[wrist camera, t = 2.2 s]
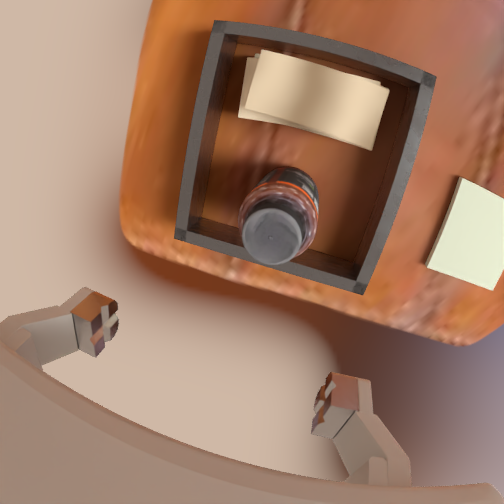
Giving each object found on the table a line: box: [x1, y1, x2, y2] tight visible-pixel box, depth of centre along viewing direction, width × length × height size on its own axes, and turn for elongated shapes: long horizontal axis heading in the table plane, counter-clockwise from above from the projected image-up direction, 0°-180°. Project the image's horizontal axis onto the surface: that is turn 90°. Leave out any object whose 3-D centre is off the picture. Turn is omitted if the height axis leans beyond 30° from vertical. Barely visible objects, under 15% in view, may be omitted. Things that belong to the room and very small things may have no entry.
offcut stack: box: [238, 50, 390, 151], centre depth 24 cm, size 12×6×6 cm, turn 77°
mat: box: [425, 177, 504, 291], centre depth 27 cm, size 10×10×1 cm
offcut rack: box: [174, 20, 436, 295], centre depth 27 cm, size 19×21×4 cm
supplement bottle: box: [238, 167, 319, 265], centre depth 25 cm, size 6×6×11 cm
